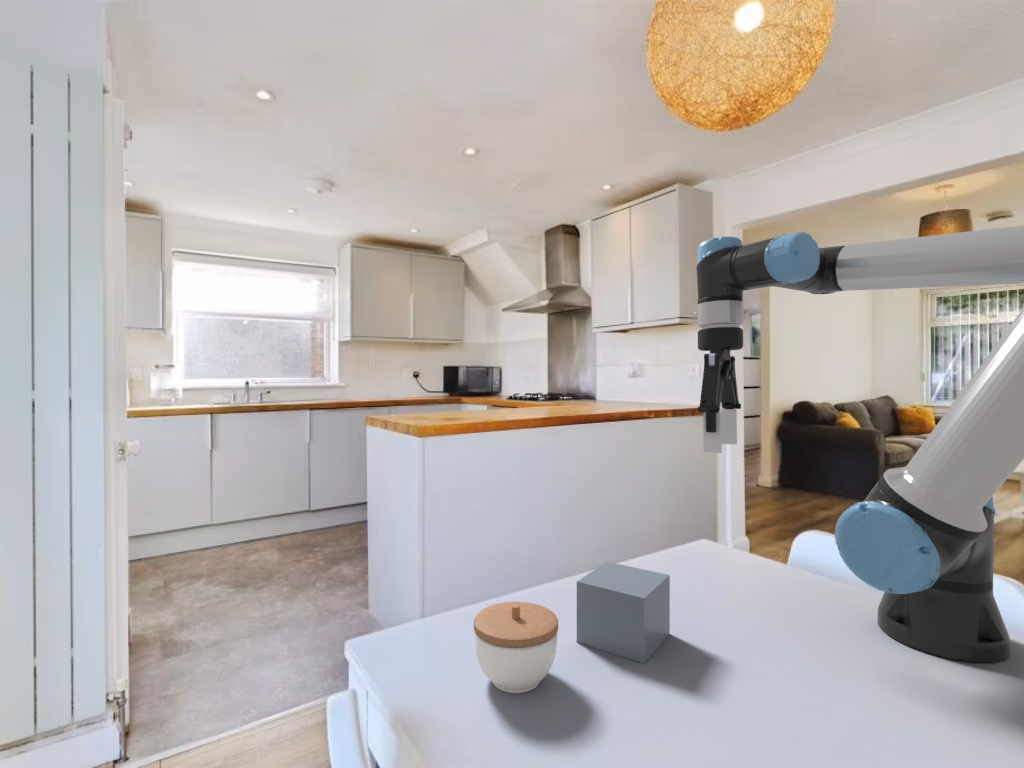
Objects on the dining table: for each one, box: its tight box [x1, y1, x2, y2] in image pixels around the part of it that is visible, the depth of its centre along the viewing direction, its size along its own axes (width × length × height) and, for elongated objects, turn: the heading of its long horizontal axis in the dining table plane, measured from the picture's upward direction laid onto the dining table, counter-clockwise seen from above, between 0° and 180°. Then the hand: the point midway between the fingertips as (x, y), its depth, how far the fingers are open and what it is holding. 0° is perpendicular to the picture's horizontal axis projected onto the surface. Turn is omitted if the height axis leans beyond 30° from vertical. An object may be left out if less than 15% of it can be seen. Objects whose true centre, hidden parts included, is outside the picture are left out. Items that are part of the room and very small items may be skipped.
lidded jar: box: [473, 601, 559, 694], centre depth 67 cm, size 11×11×9 cm
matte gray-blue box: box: [576, 561, 671, 664], centre depth 78 cm, size 10×10×9 cm
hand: (721, 448), depth 94 cm, fingers open, 13 cm apart
